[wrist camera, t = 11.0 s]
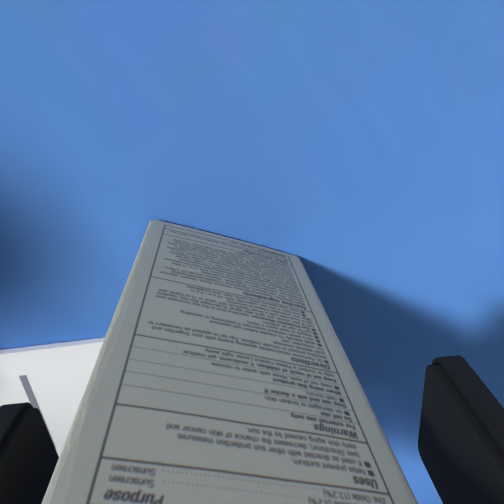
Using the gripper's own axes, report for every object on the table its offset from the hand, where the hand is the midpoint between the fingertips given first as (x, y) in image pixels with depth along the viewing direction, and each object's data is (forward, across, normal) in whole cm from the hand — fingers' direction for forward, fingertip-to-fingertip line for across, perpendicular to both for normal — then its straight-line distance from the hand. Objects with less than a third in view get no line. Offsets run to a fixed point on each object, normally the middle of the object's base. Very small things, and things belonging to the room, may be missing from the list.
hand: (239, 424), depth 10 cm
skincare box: (+7, +1, 0) cm, 8 cm away
